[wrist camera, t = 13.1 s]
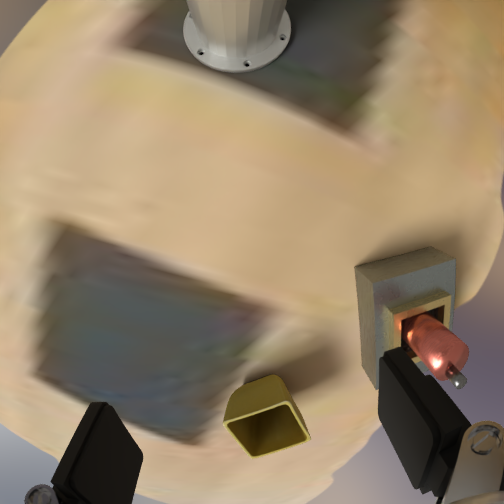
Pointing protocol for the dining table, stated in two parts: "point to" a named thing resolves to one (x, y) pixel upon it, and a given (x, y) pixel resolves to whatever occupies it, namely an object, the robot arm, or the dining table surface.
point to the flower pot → (264, 418)
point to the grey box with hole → (401, 301)
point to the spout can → (436, 347)
